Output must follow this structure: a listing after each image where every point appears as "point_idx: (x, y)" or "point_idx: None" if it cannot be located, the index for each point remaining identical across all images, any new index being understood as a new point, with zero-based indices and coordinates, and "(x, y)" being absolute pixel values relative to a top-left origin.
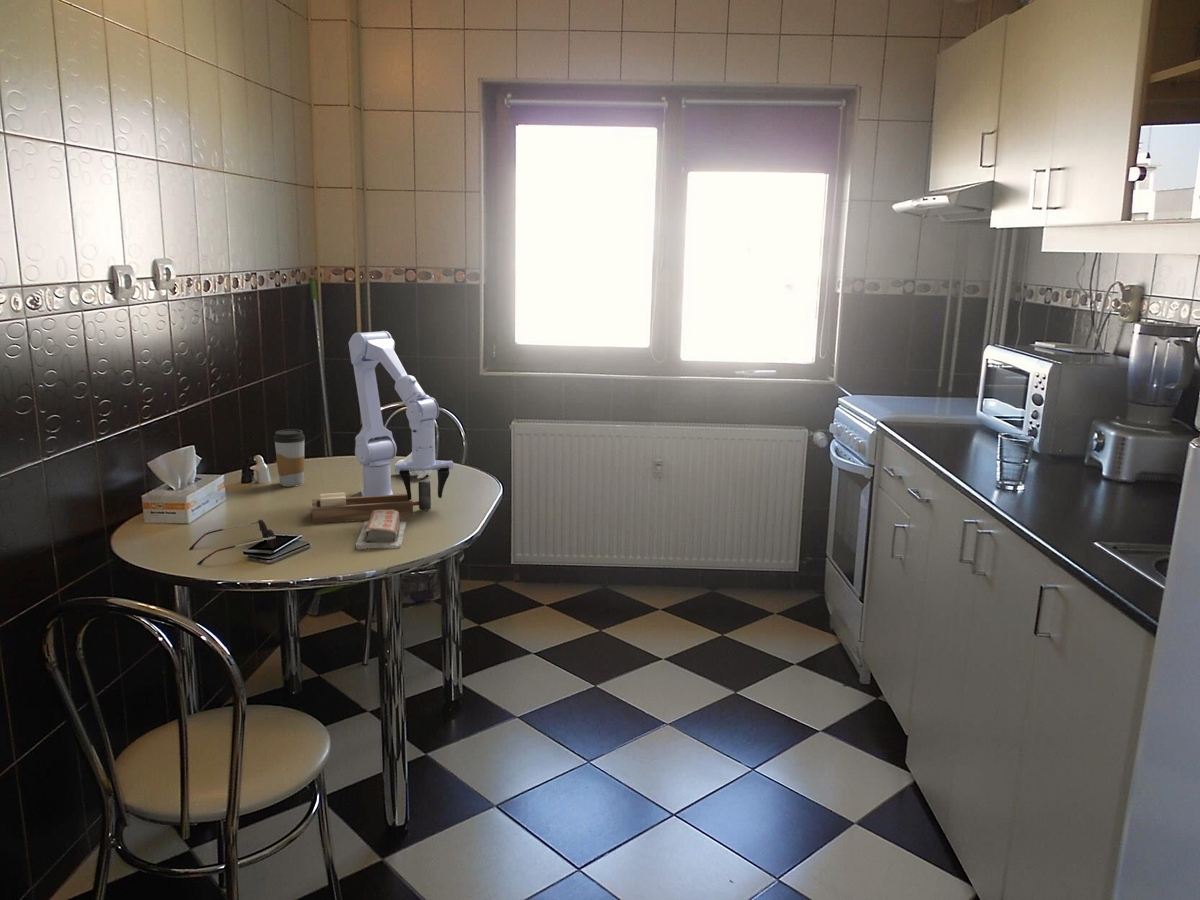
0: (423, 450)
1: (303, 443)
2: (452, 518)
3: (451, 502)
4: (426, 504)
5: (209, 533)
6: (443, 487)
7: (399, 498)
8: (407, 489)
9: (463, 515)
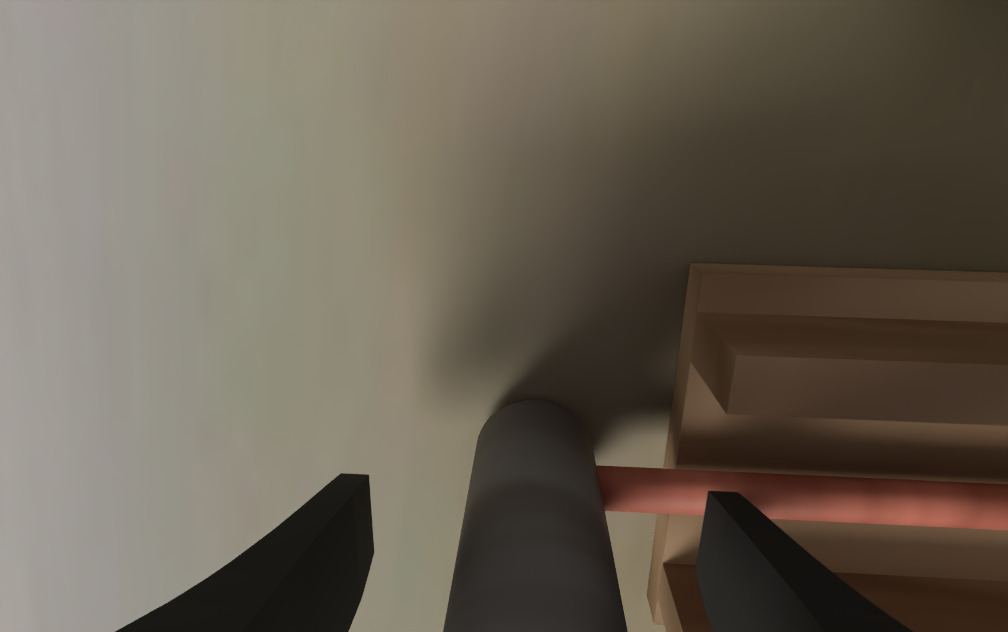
0: None
1: None
2: (294, 72)
3: None
4: (526, 429)
5: None
6: (246, 551)
7: None
8: (836, 583)
9: (173, 157)
